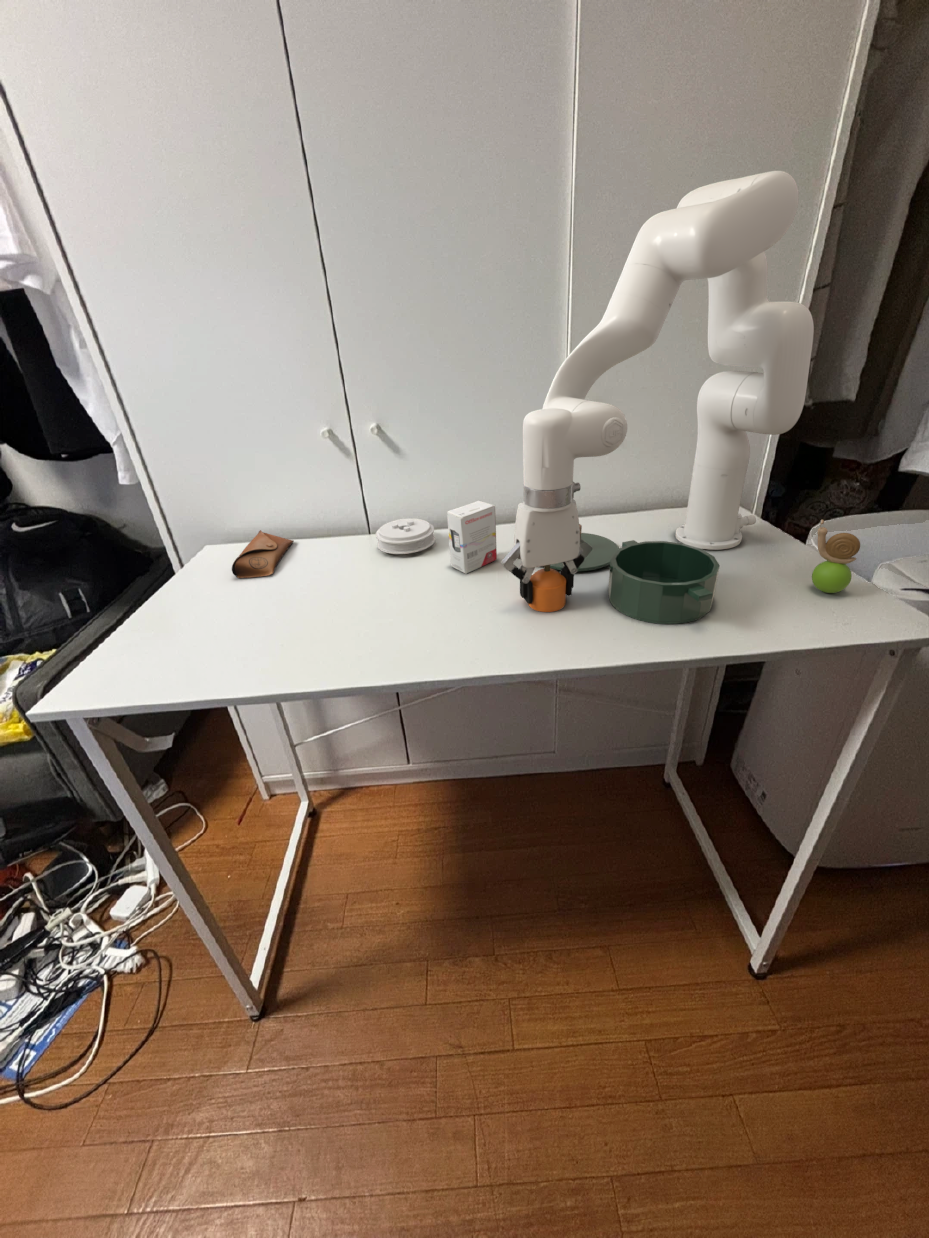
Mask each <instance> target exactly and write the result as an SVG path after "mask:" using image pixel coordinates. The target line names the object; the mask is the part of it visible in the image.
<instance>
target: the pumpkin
mask: <svg viewBox="0 0 929 1238" xmlns="http://www.w3.org/2000/svg"><path fill="white" fill-rule="evenodd" d="M530 581H531V582H532V584H533V602H532V604H528V603H527V605H528V606H529V608H531V609H532V610H534V611H537V612H540V613H552V612H554V613H555V612H557V611H559V610H562V609H563V608H564V607H565V605H566V597H567V595H566V579H565V577H564V576H562V575H561V572H559V570H557V569H552V568H550V565H545V566H543V568H540V569H538V570H536V571H535V572H533V573H532V576H531V578H530Z"/></svg>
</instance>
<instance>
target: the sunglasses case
mask: <svg viewBox="0 0 929 1238" xmlns="http://www.w3.org/2000/svg"><path fill="white" fill-rule="evenodd" d="M294 541H295V540H294V539H290V538H284V537H281V536H277V535H274V534H271V533H267V532H264V531H262V530H261V529H259V531H258V533H257V534H256V535H255V536H254V537H253V538H252V539H251V541H249V543H247V545H246V546H245V547H244V549H243V550H242V551H241V552H240V554H239V555H238V557H236V559H235V560H234V561H233V563H232V565H231V572H232V575H233V576H234V577H236V578H237V579H256V578H263V577H269V576H272V575H274V573H275V570H276V568H277V566H278V565H279V563H280V562H281V560H282V559H283V557H284V556H285V554H286V553H288V550H289V549H290V548H291V546H292V545H293V543H294Z"/></svg>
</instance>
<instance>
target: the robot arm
mask: <svg viewBox="0 0 929 1238" xmlns="http://www.w3.org/2000/svg"><path fill="white" fill-rule="evenodd" d="M799 193H800V192H799V188H798V184H797V181H796V180H795V178H794V177H793V176H792V175H791V174H790V173H788V172H787V171H783V170H771V171H770V170H769V171H766V172H765V171H764V172H761V173H756V174H753V175H751V174H750V175H745V176H742V177H737V178H732V179H726V180H721V181H717V182H712V183H710V184H707V185H706V184H705V185H703V186H700V187H697V188H695V189H693V190H691V191H689V192H688V193H687V194H685V195H684V196H683V197H682V198H681V199H680V200H679V202H678V204H677V206H676V208H671V209H667V210H664V211H661V212H658V213H656V214H654V215H652V216H650V218H648V219H647V220H646V221H645V222H644V223H643V224H642V226H641V227H640V229H639V230H638V232H637V234H636V236H635V239H634V242H633V244H632V245H631V249H630V252H629V254H628V256H627V259H626V261H625V263H624V265H623V268H622V271H621V273H620V275H619V277H618V280H617V282H616V285H615V288H614V290H613V292H612V295H611V297H610V299H609V301H608V304H607V306H606V309H605V311H604V314H603V316H602V318H601V319H600V321H599V323H598V324H597V325H596V326H595V327H594V328H593V329H592V330H590V332H589V333H587V335H586V336H585V337H584V338H583V339H582V340H581V341H580V342H579V343H578V344H577V346H575V348H574V349H573V350H571V352H570V353H569V354H568V356H566V358H565V359H564V360H563V362H562V363H561V365H560V367H558V370H557V371H556V373H555V375H554V377H553V380H552V382H551V384H550V387H549V389H548V392H547V394H546V397H545V399H544V402H543V405H542V408H540V409H536V410H532V411H530V412H528V413H527V414H526V415H525V416H524V417H523V421H522V470H523V476H522V477H523V478H522V479H523V484H522V485H523V487H522V489H523V501H522V502H519V503H518V505H517V510H516V515H515V521H514V522H515V523H514V533H513V547H512V548H511V549H510V551H509V552H508V553H507V554H506V555H505V556H504V557H503V558H502V559H501V561H500V564H501V565H502V567H503V568H504V569H506V571H508V572H509V573H510V574H512V575H513V576H514V577H515V578H517V579H518V580H519V594H520V597H521V598H522V599H524V601H525V602H526V603H527V605H528V604H532V602H533V584H532V582H531V581H530V578H531V576H532V575H533V574H534V571H535V569H536V568H540V567H544V566H545V565H550V564H556V563H561V562H562V563H563V565H564V567H563V568H561V570H560V574H561V575H562V576H564V577H565V579H566V596H568V597H569V596H570V597H571V596H572V595H573V594H572V593H573V588H574V586H575V583H574V582H575V574H577V573H578V571H577V568H578V567H579V566H580V565H581V564H582V563H583V561H584V558H585V557H587V556H588V554H589V553H590V552H591V551H592V547H591V546H590V545H589V544H587V543H586V542H585V541H584V540H582V539H581V538H580V529H579V524H580V519H579V511H578V508H577V506H578V505H577V501H576V500H575V499H574V498H575V497H574V496H575V493H576V492H580V491H581V484H580V482H574V467H575V465H574V464H575V460H576V459H577V458H593V457H594V458H595V457H603V456H607V455H609V454H611V453H613V452H614V451H616V450H617V449H618V448H619V447H620V446H621V445H622V444H623V442H624V441H625V439H626V437H627V433H628V420H627V417H626V415H625V414H624V412H623V411H622V410H621V409H620V408H619V407H617V406H615V405H614V404H610V403H607V402H601V401H595V400H591V399H586V397H587V395H588V393H589V392H590V390H591V388H592V387H593V385H594V384H595V383H596V382H597V380H598V379H599V378H601V376H603V375H604V373H606V372H607V371H608V370H609V371H610V369H611V368H614V367H615V366H616V365H618V364H620V363H623V362H624V361H627V360H629V359H631V358H632V357H633V358H634V356H636V355H638V354H640V353H642V352H644V351H647V349H649V348H650V347H652V346H653V345H654V344H655V343H656V341H657V340H658V337H659V335H660V333H661V331H662V328H663V326H664V324H665V321H666V319H667V317H668V314H669V312H670V310H671V307H672V305H673V304H674V301H675V298H676V297H677V294H678V291H680V290H679V289H680V288H681V285H682V284H683V283H684V282H685V281H693V280H694V281H695V280H707V283H708V284H707V285H708V305H707V306H708V307H707V308H708V309H707V311H708V313H707V314H708V315H707V352H708V355H709V358H710V359H711V361H712V362H714V363H715V364H717V365H719V366H726V367H735V368H736V367H738V368H753V369H762V370H763V372H757V371H746V370H725V371H720V372H717V373H715V374H713V375H711V376H709V378H707V379H706V380H705V381H704V383H703V384H702V385H701V387H700V389H699V392H698V395H697V399H696V417H697V418H696V419H697V437H696V446H695V453H694V459H693V460H694V461H693V467H692V474H691V480H690V486H689V492H688V500H687V506H686V507H687V508H686V513H685V521H684V523H683V524H681V525H679V526H678V527H676V529H675V533H674V534H675V535H674V536H675V539H677V541H679V543H682V544H686V545H690V546H693V547H696V548H700V549H702V550H709V551H710V550H711V551H713V550H714V551H718V550H719V551H720V550H721V551H722V550H729V549H732V548H735V547H737V546H739V545H740V544H741V542H742V539H743V534H742V532H741V531H740V529H742V528H743V527H744V526H745V527H747V526H752V525H755V524H756V522H757V517H756V515H754V514H752V515H745V516H742V514H741V513H740V506H741V501H742V496H743V491H744V487H745V481H746V477H747V473H748V466H749V463H750V458H751V446H750V445H751V444H750V440H749V437H748V435H747V432H748V433H754V434H762V435H769V436H770V435H772V436H776V435H782V434H784V433H787V432H789V431H790V430H792V428H794V426H795V425H796V424H797V422H798V421H799V419H800V417H801V414H802V413H803V409H804V406H805V401H806V395H807V389H808V388H807V387H808V380H809V374H810V373H809V372H810V368H811V367H810V366H811V358H812V352H813V344H814V335H815V334H814V333H815V332H814V331H815V325H814V320H813V315H812V313H811V311H810V309H809V308H808V307H807V306H806V305H804V304H803V303H800V302H798V301H797V302H796V301H770V299H768V276H769V275H768V272H769V267H768V266H769V265H768V259H767V258H768V257H767V255H766V251H767V250H769V249H770V248H772V247H773V246H775V245H776V244H777V243H778V242H779V241H780V240H781V239H782V238H783V237H784V236H785V235H786V233H787V232H788V230H789V229H790V228H791V226H792V224H793V222H794V221H795V217H796V215H797V211H798V208H799V200H800V198H799V197H800V196H799V195H800V194H799ZM579 548H580V549H579ZM517 559H518V560H521V562H520V565H519V567H518V566H517V565H515V564H514V563H515V561H517Z"/></svg>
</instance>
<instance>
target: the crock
mask: <svg viewBox="0 0 929 1238" xmlns="http://www.w3.org/2000/svg"><path fill="white" fill-rule="evenodd" d="M720 566H721V565H720V563H719V562H718V560H717V559H716V556H714V555H712V554H711V553H709V552H708V551H706V550H705V549H700V548H696V547H693V546H690V545H686V544H683V543H681V542H674V541H666V540H655V541H654V540H652V541H651V540H650V541H648V540H647V541H646V540H645V541H640V542H637V541H636V540H634V539H632V540H629V541H628V540H627V541H622V543H621V547H619V549H618V550H616V551H615V553H614V554H613V555H612V557H611V560H610V565H609V575H608V587H607V593H608V601H609V602H610V604H611V605H612V606H613V608H614V609H616V610H617V611H618V612H620V613H621V614H623V615H625V616H627V617H629V618H632V619H634V620H635V619H636V620H638V621H642V622H645V623H651V624H657V625H658V624H659V625H679V624H686V623H690V622H691V623H692V622H694V621H697V620H700V619H702V618H703V617H705V616H706V615H708V613H709V612H710V611H711V609H712V605H713V602H714V598H715V593H716V588H717V582H718V578H719V571H720V568H721V567H720Z"/></svg>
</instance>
